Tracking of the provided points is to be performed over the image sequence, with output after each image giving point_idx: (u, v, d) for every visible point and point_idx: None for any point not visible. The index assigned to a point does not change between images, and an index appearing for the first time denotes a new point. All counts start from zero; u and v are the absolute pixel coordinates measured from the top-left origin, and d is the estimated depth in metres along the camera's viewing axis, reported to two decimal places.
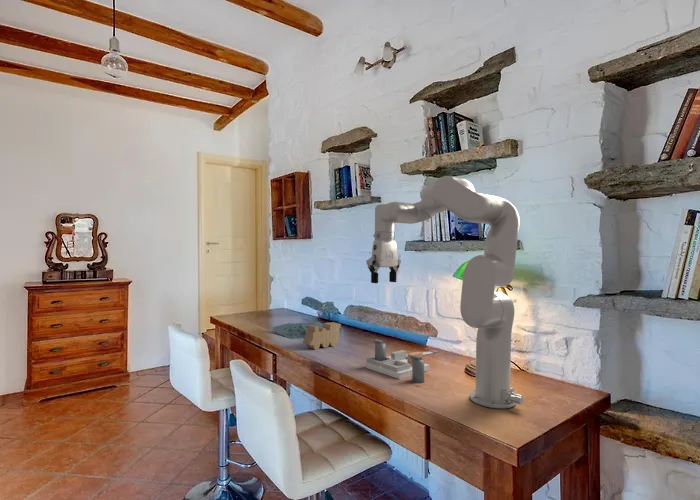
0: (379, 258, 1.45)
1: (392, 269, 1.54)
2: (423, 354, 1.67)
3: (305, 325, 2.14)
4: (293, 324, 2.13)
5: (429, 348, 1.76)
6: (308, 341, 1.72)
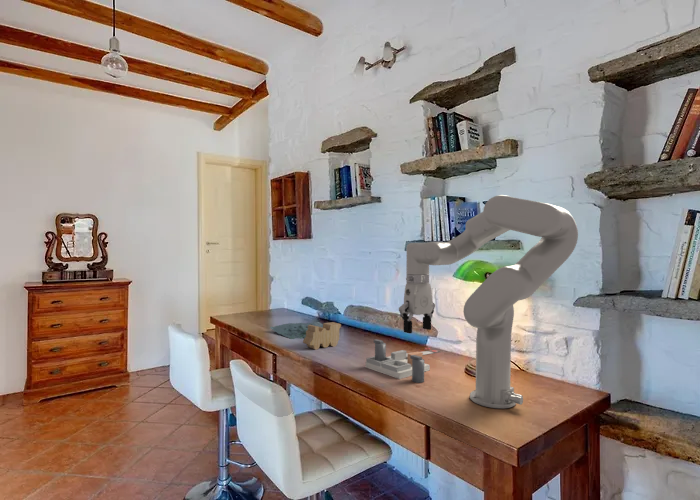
0: (413, 305, 1.29)
1: (426, 314, 1.37)
2: (423, 354, 1.67)
3: (305, 325, 2.14)
4: (293, 324, 2.14)
5: (429, 348, 1.76)
6: (308, 341, 1.72)
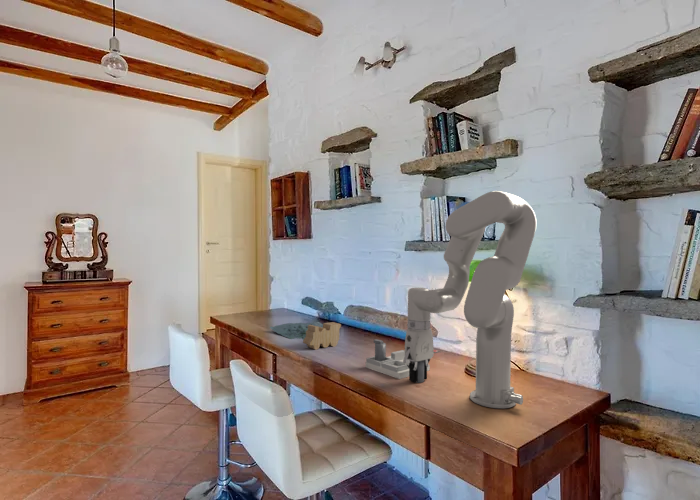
0: (414, 352, 1.28)
1: None
2: None
3: (305, 325, 2.14)
4: (293, 324, 2.14)
5: None
6: (308, 341, 1.72)
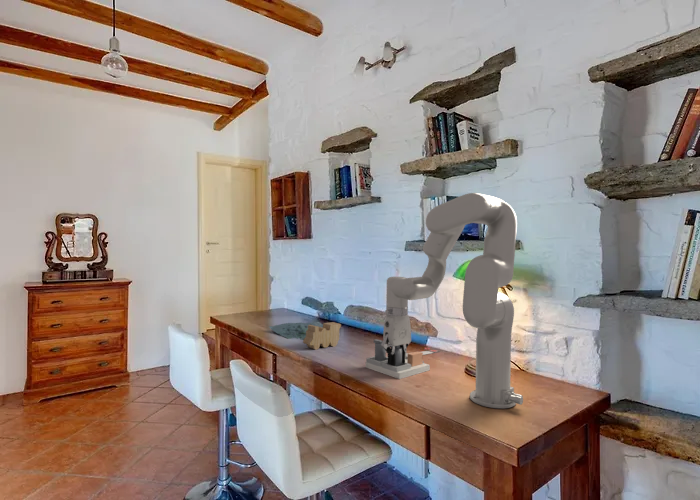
0: (392, 337, 1.35)
1: (401, 347, 1.42)
2: (423, 354, 1.67)
3: (304, 325, 2.15)
4: (292, 324, 2.14)
5: (428, 348, 1.76)
6: (308, 341, 1.72)
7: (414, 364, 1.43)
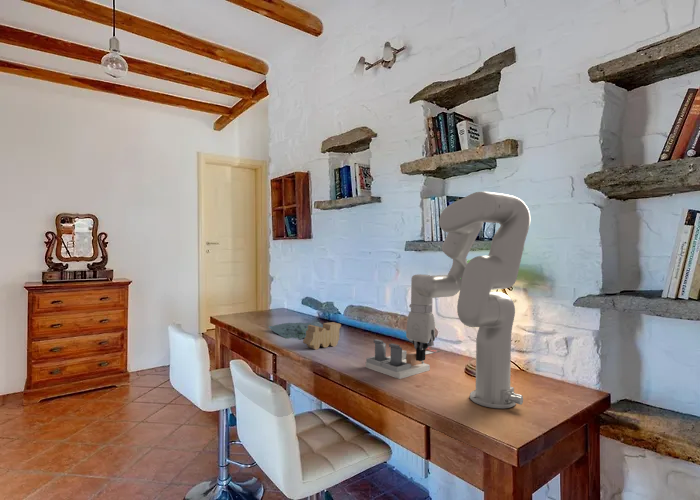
0: (406, 329, 1.45)
1: None
2: None
3: (304, 325, 2.15)
4: (292, 324, 2.15)
5: (428, 348, 1.77)
6: (308, 341, 1.72)
7: (413, 364, 1.43)
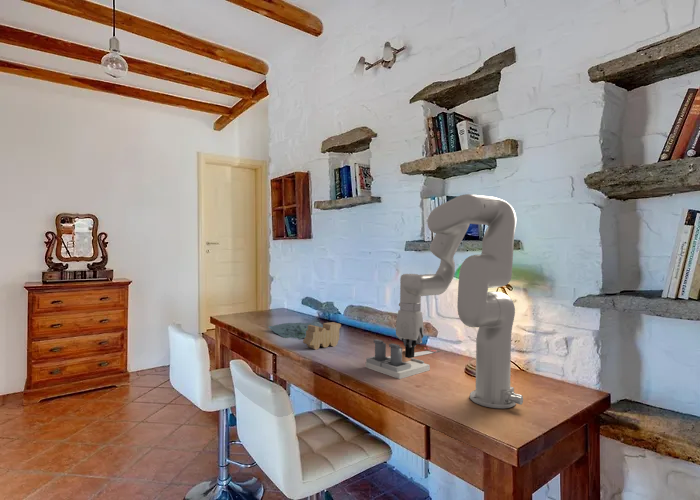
0: (396, 327, 1.49)
1: None
2: (423, 354, 1.67)
3: (304, 325, 2.15)
4: (292, 324, 2.15)
5: (428, 348, 1.77)
6: (308, 341, 1.72)
7: (402, 361, 1.47)
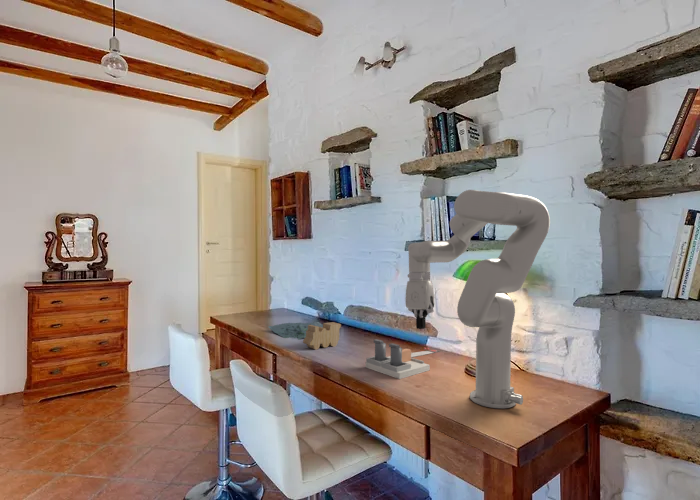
0: None
1: None
2: (423, 354, 1.67)
3: (304, 325, 2.15)
4: (292, 324, 2.15)
5: (428, 348, 1.77)
6: (308, 341, 1.72)
7: (402, 361, 1.47)
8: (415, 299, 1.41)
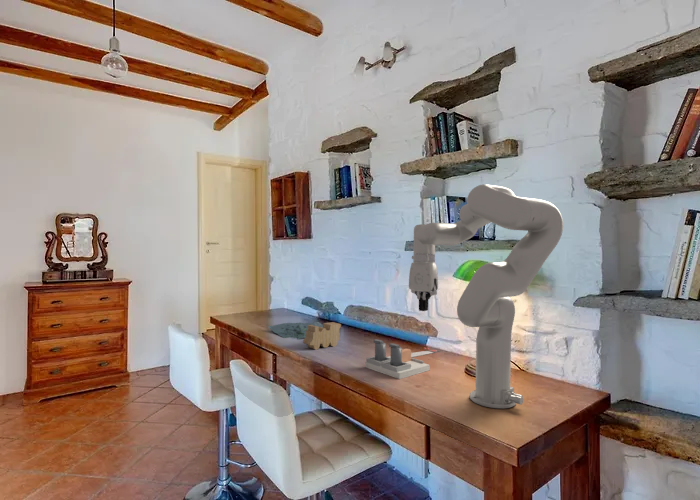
0: (409, 280, 1.44)
1: None
2: (424, 354, 1.67)
3: (303, 325, 2.15)
4: (292, 324, 2.15)
5: (428, 348, 1.77)
6: (308, 341, 1.72)
7: (402, 361, 1.47)
8: (419, 281, 1.40)
